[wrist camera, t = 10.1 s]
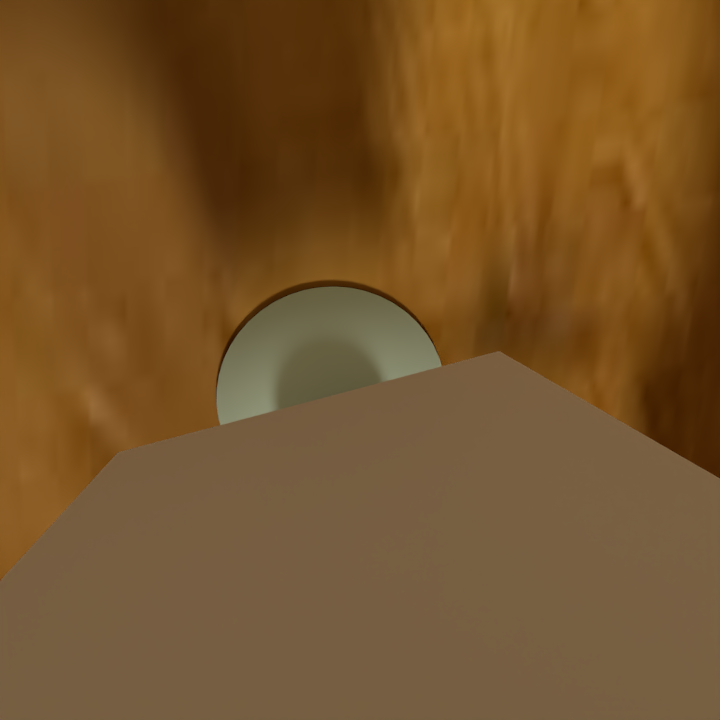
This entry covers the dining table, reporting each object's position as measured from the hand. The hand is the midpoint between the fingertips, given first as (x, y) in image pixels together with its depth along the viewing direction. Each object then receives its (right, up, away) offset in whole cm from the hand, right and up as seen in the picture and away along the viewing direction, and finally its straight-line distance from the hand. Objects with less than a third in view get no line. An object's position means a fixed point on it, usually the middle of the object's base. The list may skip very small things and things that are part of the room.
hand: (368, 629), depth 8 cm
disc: (-1, +3, +11) cm, 12 cm away
